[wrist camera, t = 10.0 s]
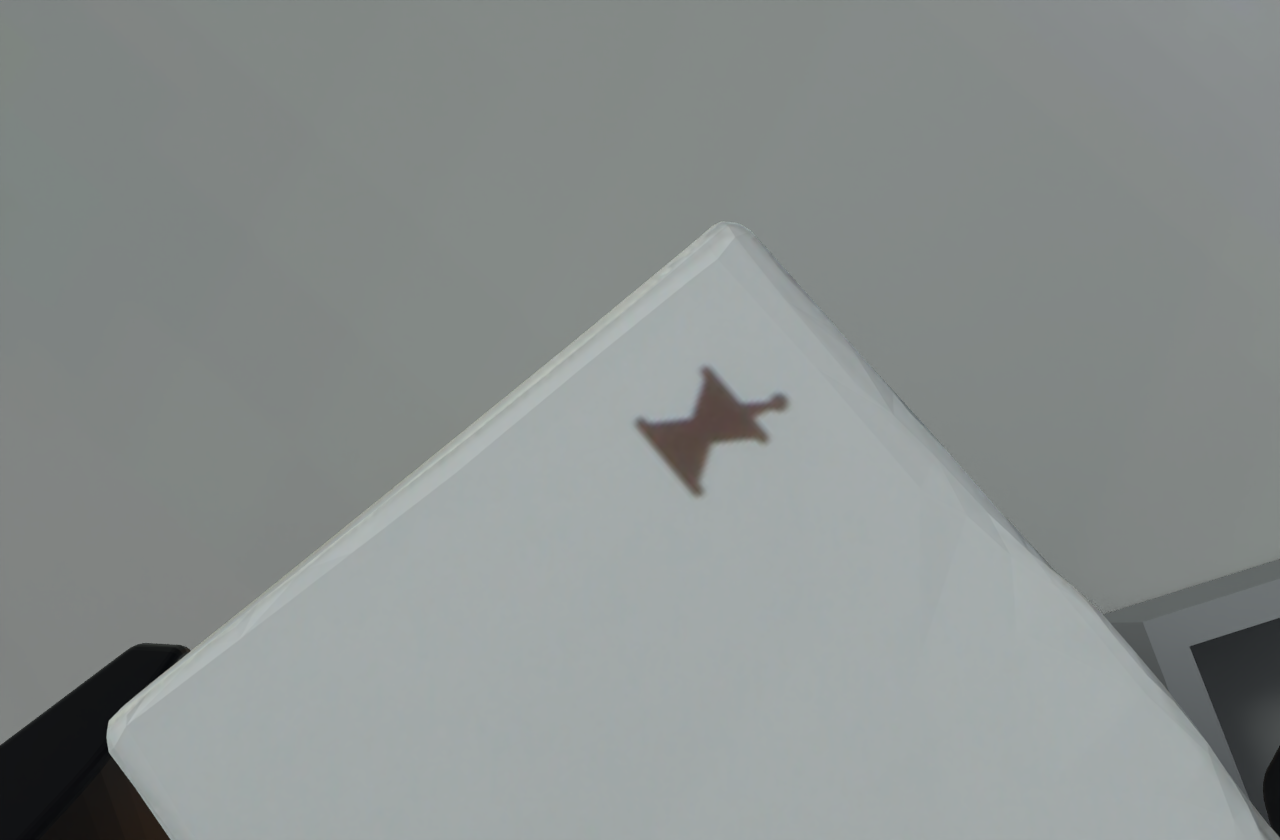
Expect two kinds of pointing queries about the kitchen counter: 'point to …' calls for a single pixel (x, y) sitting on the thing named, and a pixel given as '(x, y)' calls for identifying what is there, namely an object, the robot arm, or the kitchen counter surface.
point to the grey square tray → (1199, 638)
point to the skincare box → (679, 625)
